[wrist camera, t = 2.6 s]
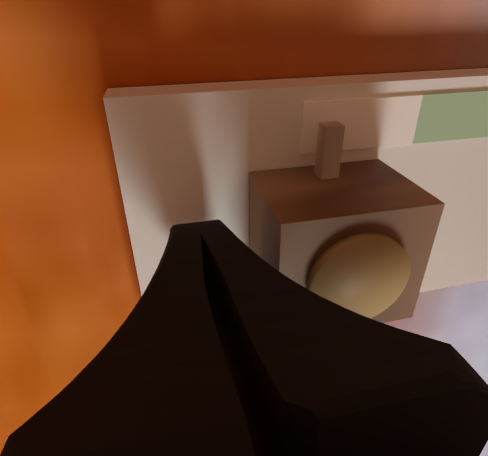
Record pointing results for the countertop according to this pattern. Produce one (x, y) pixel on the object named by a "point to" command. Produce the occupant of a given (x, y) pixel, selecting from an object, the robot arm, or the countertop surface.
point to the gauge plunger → (345, 229)
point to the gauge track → (302, 152)
